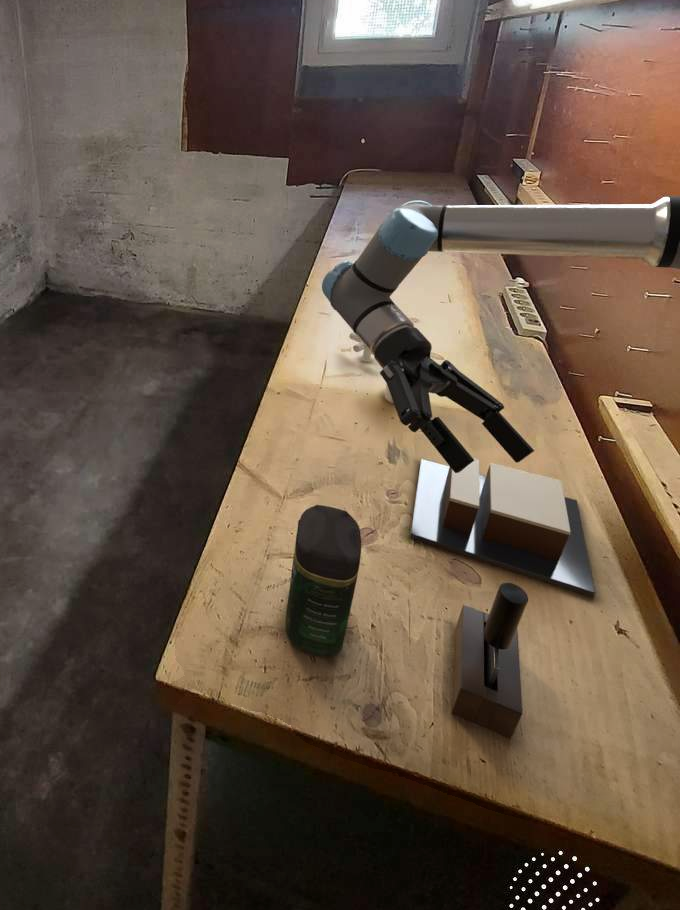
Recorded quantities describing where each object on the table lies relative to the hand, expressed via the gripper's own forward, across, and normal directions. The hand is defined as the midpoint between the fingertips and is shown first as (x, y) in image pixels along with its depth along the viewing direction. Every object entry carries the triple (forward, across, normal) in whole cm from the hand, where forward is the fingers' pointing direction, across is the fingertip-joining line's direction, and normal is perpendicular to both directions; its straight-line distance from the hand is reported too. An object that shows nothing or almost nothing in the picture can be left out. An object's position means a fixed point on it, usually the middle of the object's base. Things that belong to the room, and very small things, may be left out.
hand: (496, 461), depth 72 cm
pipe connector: (-45, -42, -32) cm, 70 cm away
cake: (+3, -24, -17) cm, 29 cm away
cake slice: (-3, -19, -20) cm, 28 cm away
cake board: (+1, -22, -19) cm, 29 cm away
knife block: (+19, +2, -20) cm, 27 cm away
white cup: (-30, -36, -27) cm, 55 cm away
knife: (+19, +2, -20) cm, 27 cm away
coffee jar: (+6, +15, -29) cm, 33 cm away
